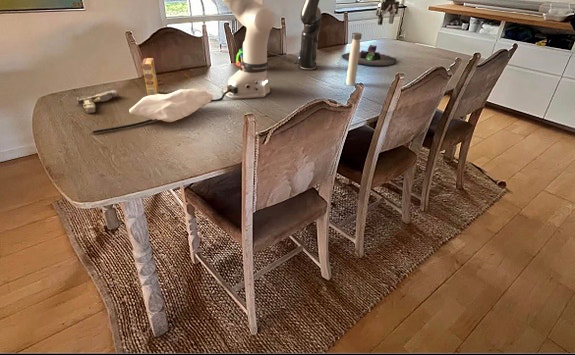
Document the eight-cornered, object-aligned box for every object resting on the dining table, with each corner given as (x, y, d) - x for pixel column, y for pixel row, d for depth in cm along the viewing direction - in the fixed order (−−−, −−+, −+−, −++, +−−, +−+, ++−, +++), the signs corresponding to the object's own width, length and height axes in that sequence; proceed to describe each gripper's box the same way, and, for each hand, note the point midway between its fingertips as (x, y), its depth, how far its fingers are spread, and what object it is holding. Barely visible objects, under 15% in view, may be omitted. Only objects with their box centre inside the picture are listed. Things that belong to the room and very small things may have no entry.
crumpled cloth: (117, 110, 146) (113, 90, 140) (195, 92, 166) (194, 73, 160) (143, 139, 134) (140, 118, 128) (223, 116, 154) (224, 96, 148)
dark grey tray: (408, 61, 231) (410, 46, 226) (368, 68, 213) (370, 52, 209) (368, 52, 256) (369, 39, 251) (330, 58, 238) (331, 43, 234)
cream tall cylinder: (346, 85, 188) (353, 35, 175) (345, 82, 192) (351, 33, 179) (355, 85, 189) (362, 35, 175) (353, 82, 193) (360, 33, 179)
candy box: (157, 97, 164) (152, 63, 155) (147, 98, 163) (141, 63, 155) (158, 91, 171) (153, 57, 163) (149, 91, 170) (143, 58, 162)
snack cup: (256, 64, 215) (256, 46, 209) (265, 68, 208) (265, 50, 202) (232, 67, 207) (231, 49, 202) (240, 72, 200) (240, 53, 195)
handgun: (128, 97, 156) (111, 87, 164) (86, 107, 144) (70, 97, 152) (129, 103, 157) (113, 94, 165) (88, 114, 146) (72, 103, 154)
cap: (352, 39, 176) (353, 34, 175) (350, 37, 180) (351, 32, 179) (361, 39, 176) (362, 34, 175) (359, 37, 180) (360, 32, 179)
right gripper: (394, -13, 184) (388, 22, 193) (375, -12, 177) (370, 24, 185) (406, -11, 179) (399, 24, 188) (388, -10, 172) (382, 26, 180)
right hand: (385, 24), depth 187 cm, fingers open, 8 cm apart
